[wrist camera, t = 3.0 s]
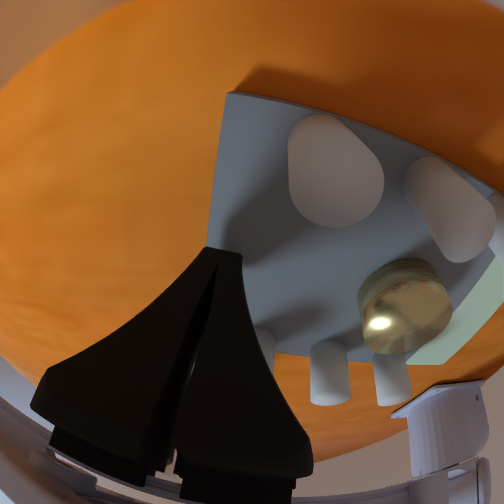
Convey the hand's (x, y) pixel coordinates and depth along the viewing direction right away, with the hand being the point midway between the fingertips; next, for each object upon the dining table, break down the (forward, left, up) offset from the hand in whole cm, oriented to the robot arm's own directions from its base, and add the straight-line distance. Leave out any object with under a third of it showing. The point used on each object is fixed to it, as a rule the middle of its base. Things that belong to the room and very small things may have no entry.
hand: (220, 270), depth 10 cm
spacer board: (-8, 0, -2) cm, 8 cm away
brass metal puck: (-8, 0, -1) cm, 8 cm away
